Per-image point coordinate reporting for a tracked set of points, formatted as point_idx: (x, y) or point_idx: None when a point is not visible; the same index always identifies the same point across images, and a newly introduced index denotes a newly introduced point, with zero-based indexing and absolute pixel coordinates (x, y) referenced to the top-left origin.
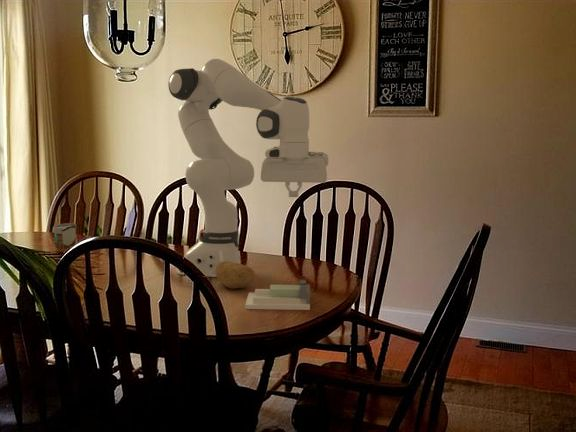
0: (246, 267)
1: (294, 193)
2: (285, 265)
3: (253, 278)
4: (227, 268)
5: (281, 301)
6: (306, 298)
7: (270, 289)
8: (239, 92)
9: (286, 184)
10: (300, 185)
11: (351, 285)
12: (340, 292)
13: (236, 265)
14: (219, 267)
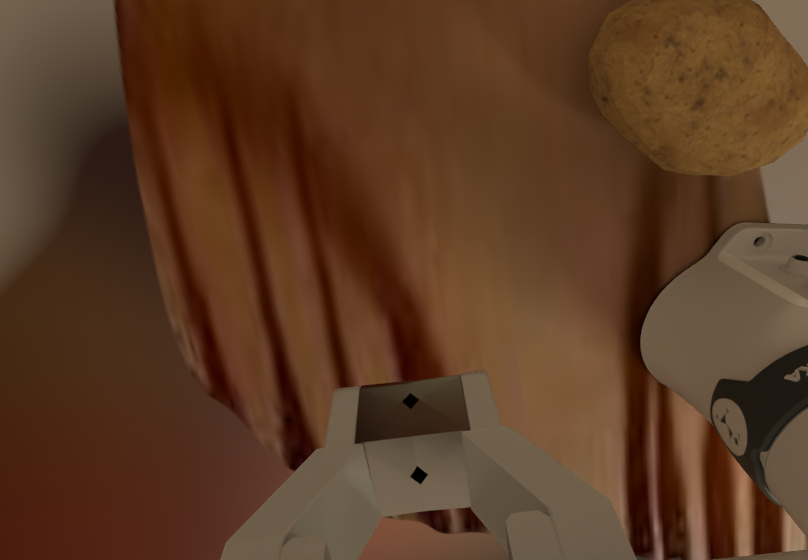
0: (655, 44)
1: (394, 411)
2: None
3: (591, 47)
4: (763, 25)
5: None
6: None
7: None
8: None
9: (593, 532)
10: (255, 549)
11: (158, 221)
12: (174, 101)
13: (717, 56)
14: (803, 67)
